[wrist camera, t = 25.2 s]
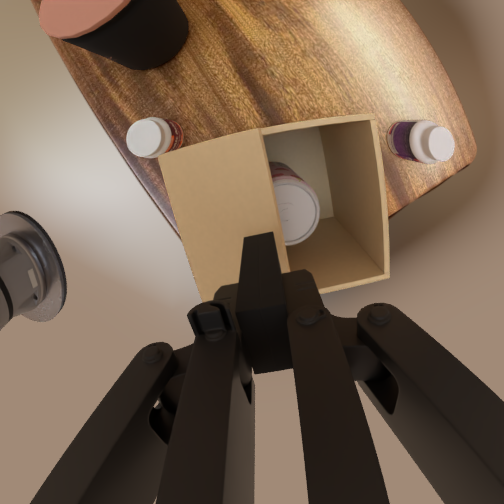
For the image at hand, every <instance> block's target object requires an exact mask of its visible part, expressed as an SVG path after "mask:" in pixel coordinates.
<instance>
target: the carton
mask: <svg viewBox="0 0 504 504" xmlns="http://www.w3.org/2000/svg"><path fill="white" fill-rule="evenodd" d="M375 119H376V118H375V113H364V114H353V115H344V116H335V117H327V118H319V119H312V120H306V121H299V122H293V123H287V124H282V125H276V126H271V127H266V128H261V132H262V136H263V140H264V145H265V149H266V154H267V158H268V162H281V163H284V164H286V165H287V166H289V167H290V168H291V169H292V170H293V171H294V172H295V173H297V174H298V175H299V176H300V177H301V178H302V179H303V180H304V181H305V182H306V183H307V184H308V185H309V186H311V188H312V189H313V190H314V192H315V193H316V195H317V198H318V201H319V205H320V218H319V222H318V225H317V227H316V229H315V230H314V232H313V233H312V234H311V235H310V236H309V237H308V238H307V239H305V240H304V241H302V242H300V243H298V244H295V245H289V246H286V252H287V257H288V262H289V268H290V272H292V271H297V270H302V269H306V270H307V271H309V272H310V273H312V275H313V277H314V280H315V283H316V285H317V288H318V291H319V293H320V294H323V293H327V292H332V291H336V290H341V289H345V288H350V287H354V286H359V285H363V284H367V283H371V282H375V281H379V280H383V279H387V278H390V273H389V272H390V258H389V227H388V211H387V198H386V187H385V178H384V169H383V161H382V154H381V147H380V141H379V134H378V128H377V123H376V120H375ZM173 151H174V150H173ZM170 152H171V151H170ZM167 153H168V152H167ZM164 154H165V153H164Z"/></svg>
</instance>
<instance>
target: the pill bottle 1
mask: <svg viewBox="0 0 504 504" xmlns="http://www.w3.org/2000/svg"><path fill="white" fill-rule="evenodd" d="M183 138H184V135H183V130H182V128H181V127H180V125H179V124H178V123H176V122H174V121H172V120H167V119H162V118H157V117H149V118H146V119H142V120H139V121H137V122H135V123H134V124H133V125H132V126H131V127H130V128H129V130H128V133H127V137H126V142H127V146H128V148H129V150H130V151H131V152H132V153H133V154H134V155H136V156H140V157H145V158H157V157H158V156H159V155H161V154H164V153H167V152H170V151H173V150H177V149H179V148H180V147H181V145H182V143H183Z"/></svg>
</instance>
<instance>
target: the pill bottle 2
mask: <svg viewBox="0 0 504 504" xmlns="http://www.w3.org/2000/svg"><path fill="white" fill-rule="evenodd" d="M387 142H388V146H389V148H390V150H391V151H392V152H393V153H394V154H395V155H396V156H397V157H400V158H402V159H407V160H412V161H416V162H420V163H424V164H434V163H436V162H438V161H442V162H443V161H447V160H449V159H450V158H451V156H452V155H453V152H454V139H453V136H452V134H451V133H450V131H449V130H448V129H446V128H445V127H442V126H438V125H437V124H436V123H434V122H432V121H430V120H403V121H397V122H395V123H394V124H392V125H391V127H390V128H389V130H388V133H387Z"/></svg>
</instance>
